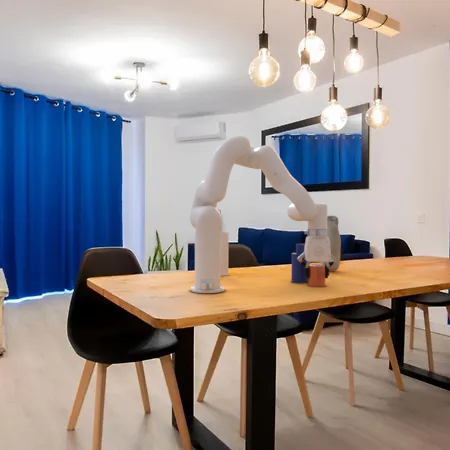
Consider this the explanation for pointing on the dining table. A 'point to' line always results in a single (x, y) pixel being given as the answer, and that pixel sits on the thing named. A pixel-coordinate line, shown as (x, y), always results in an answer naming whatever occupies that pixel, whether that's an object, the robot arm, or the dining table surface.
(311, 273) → the cup
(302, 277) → the water bottle
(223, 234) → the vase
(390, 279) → the dining table surface
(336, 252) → the grey bottle
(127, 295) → the dining table surface
